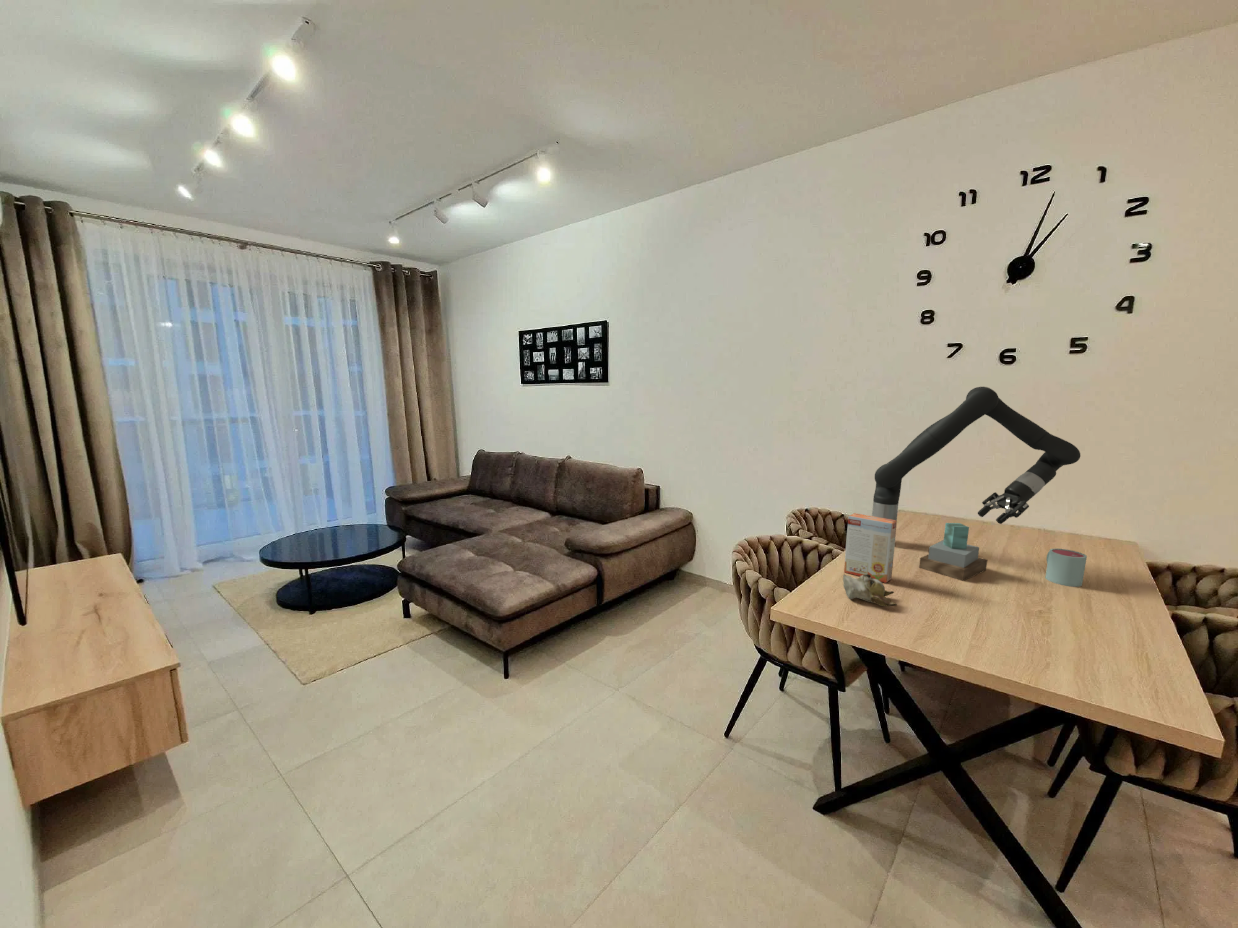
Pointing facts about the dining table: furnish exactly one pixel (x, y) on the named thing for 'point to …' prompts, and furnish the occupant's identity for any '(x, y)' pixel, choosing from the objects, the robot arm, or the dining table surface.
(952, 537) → the teal pillar
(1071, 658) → the dining table surface
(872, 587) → the ceramic sculpture
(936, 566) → the tower base slab
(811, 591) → the dining table surface
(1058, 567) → the mug
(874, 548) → the cracker box
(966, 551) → the tower top slab
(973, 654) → the dining table surface
